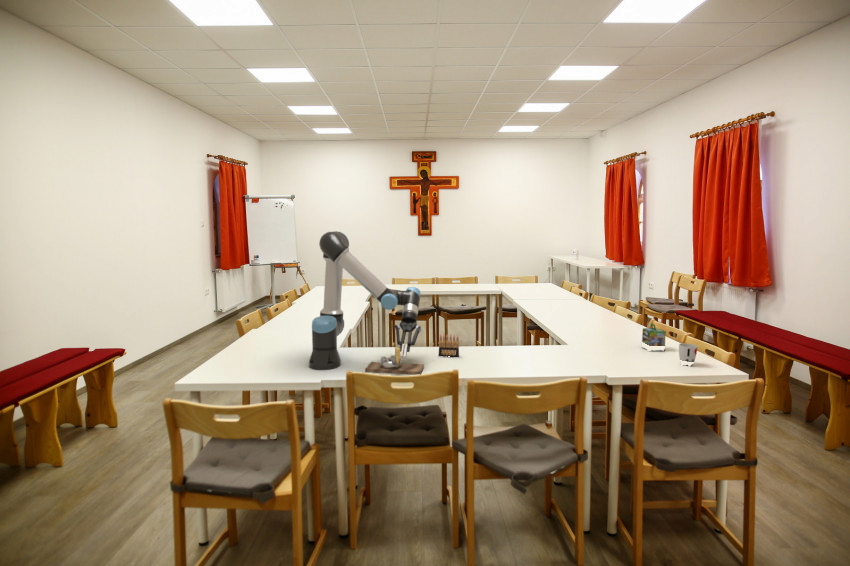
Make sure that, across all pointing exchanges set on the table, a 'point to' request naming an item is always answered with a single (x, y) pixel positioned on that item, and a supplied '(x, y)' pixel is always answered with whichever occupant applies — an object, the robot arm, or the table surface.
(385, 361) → the silver teapot
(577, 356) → the table surface
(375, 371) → the base plate
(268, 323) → the table surface
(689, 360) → the cup
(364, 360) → the table surface
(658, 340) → the lunch box
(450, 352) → the ammunition clip
